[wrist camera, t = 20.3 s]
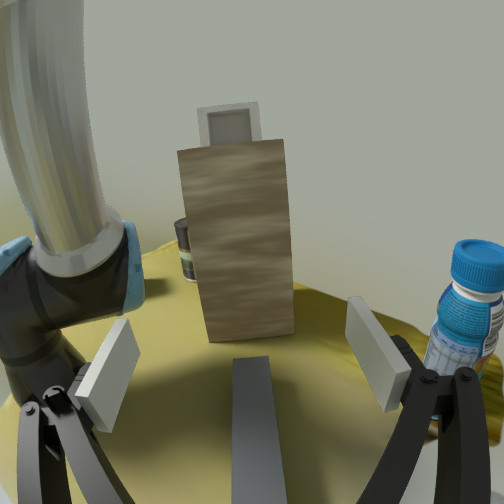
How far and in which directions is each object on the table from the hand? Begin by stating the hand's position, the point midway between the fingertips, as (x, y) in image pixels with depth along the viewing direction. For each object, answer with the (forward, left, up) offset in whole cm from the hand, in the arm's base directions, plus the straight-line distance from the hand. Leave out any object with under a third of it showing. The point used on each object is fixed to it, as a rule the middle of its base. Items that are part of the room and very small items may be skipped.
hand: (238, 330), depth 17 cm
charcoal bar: (-2, +2, -20) cm, 20 cm away
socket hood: (-22, +32, +11) cm, 40 cm away
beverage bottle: (+16, +17, -19) cm, 30 cm away
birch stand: (-19, +27, -19) cm, 38 cm away
